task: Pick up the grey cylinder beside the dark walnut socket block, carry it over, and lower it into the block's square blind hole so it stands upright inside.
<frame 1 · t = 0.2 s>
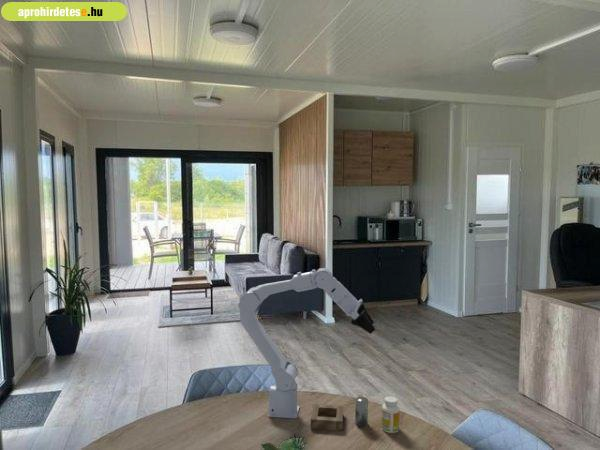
hand: (372, 328, 139), 30 cm above the table, tool tilted 45°, fingers open, 7 cm apart
supplement bottle: (390, 429, 135), on the table
grey cylinder: (361, 423, 138), on the table
socket block: (327, 421, 139), on the table
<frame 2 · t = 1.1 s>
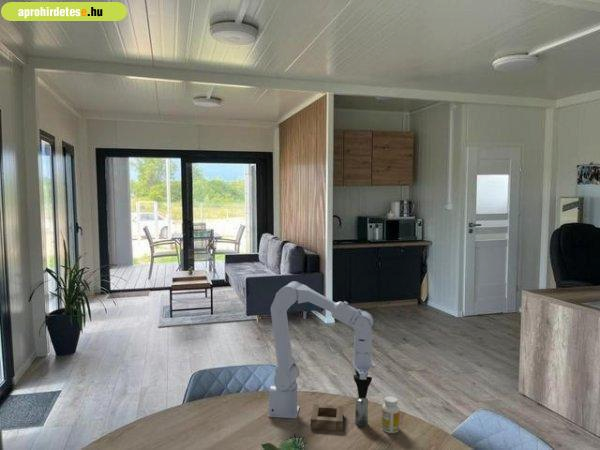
hand: (361, 392, 137), 10 cm above the table, tool pointing down, fingers open, 7 cm apart
nothing on the table moved.
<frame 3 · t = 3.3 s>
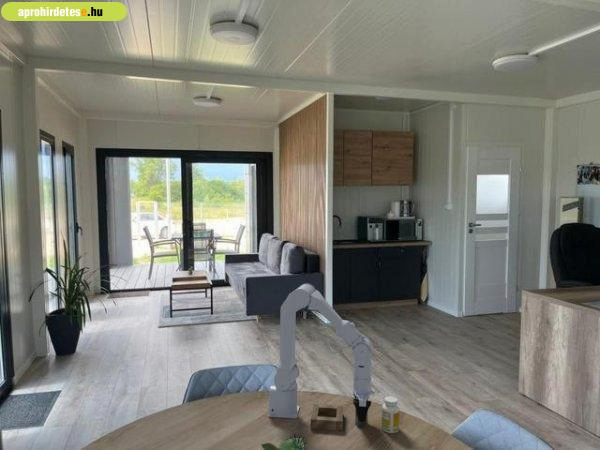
hand: (361, 417, 137), 2 cm above the table, tool pointing down, fingers closed on grey cylinder, 4 cm apart
grey cylinder: (361, 423, 138), on the table, touching gripper
everything else where it was.
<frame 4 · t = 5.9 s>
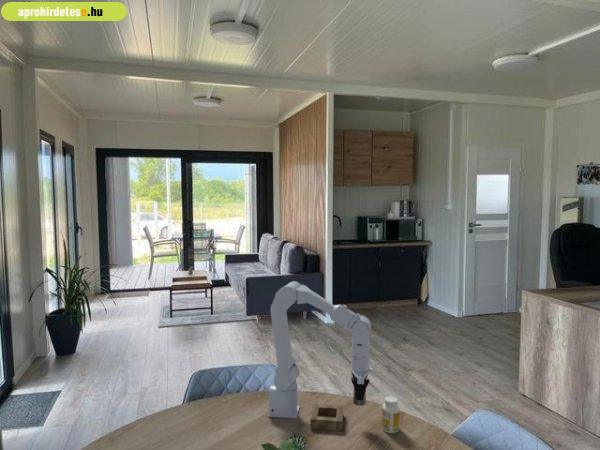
hand: (359, 396, 137), 9 cm above the table, tool pointing down, fingers closed on grey cylinder, 4 cm apart
grey cylinder: (359, 402, 137), point 7 cm above the table, touching gripper
everything else where it was.
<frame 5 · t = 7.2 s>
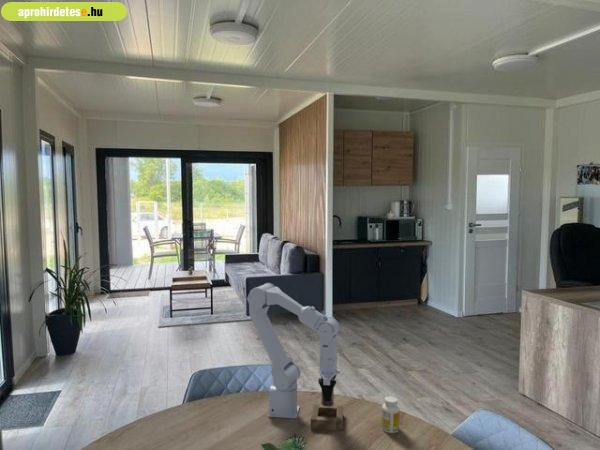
hand: (327, 397, 138), 8 cm above the table, tool pointing down, fingers closed on grey cylinder, 4 cm apart
grey cylinder: (327, 403, 138), point 6 cm above the table, touching gripper
everything else where it was.
when the fingers open (4 cm above the table, at t = 8.5 s): grey cylinder drops 1 cm, resting on socket block.
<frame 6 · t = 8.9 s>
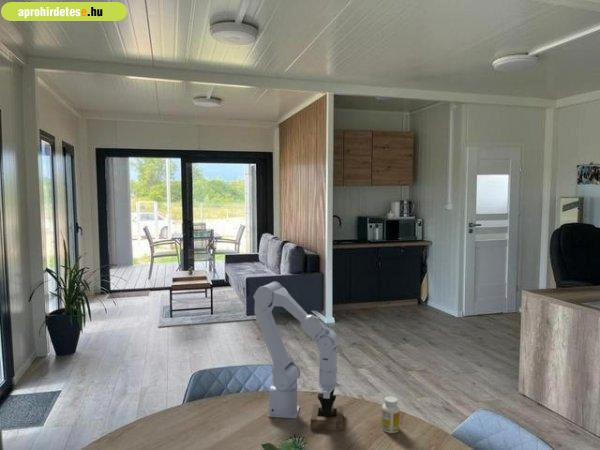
hand: (327, 409, 139), 4 cm above the table, tool pointing down, fingers open, 7 cm apart
grey cylinder: (327, 419, 139), resting on socket block
everything else where it was.
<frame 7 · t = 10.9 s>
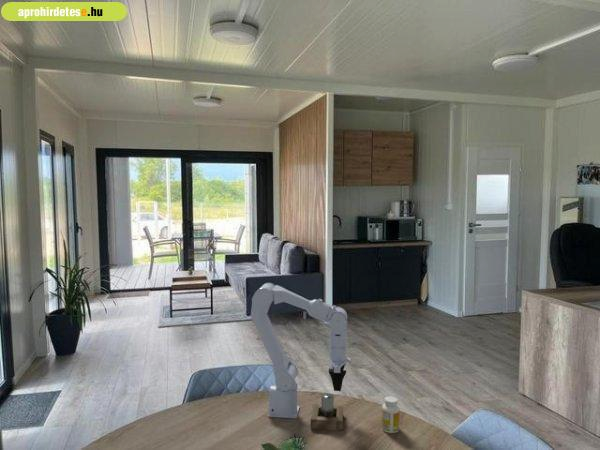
hand: (337, 385, 142), 10 cm above the table, tool pointing down, fingers open, 7 cm apart
nothing on the table moved.
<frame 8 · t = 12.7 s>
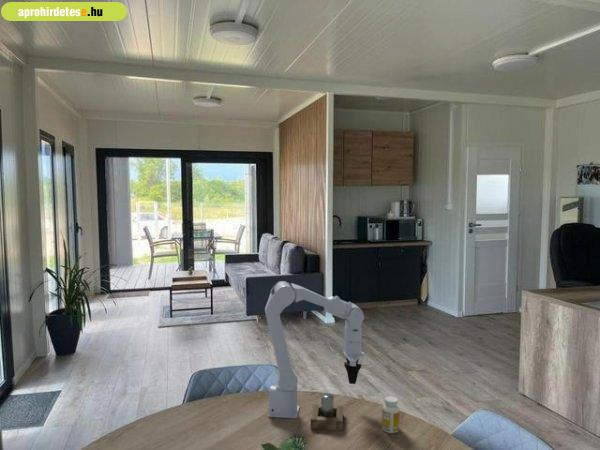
hand: (352, 378, 147), 10 cm above the table, tool pointing down, fingers open, 7 cm apart
nothing on the table moved.
at the end: grey cylinder 0.1 cm off-centre on the socket block, point 0.4 cm above the socket block's base; grey cylinder tilted 1°; the gripper is holding nothing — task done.
